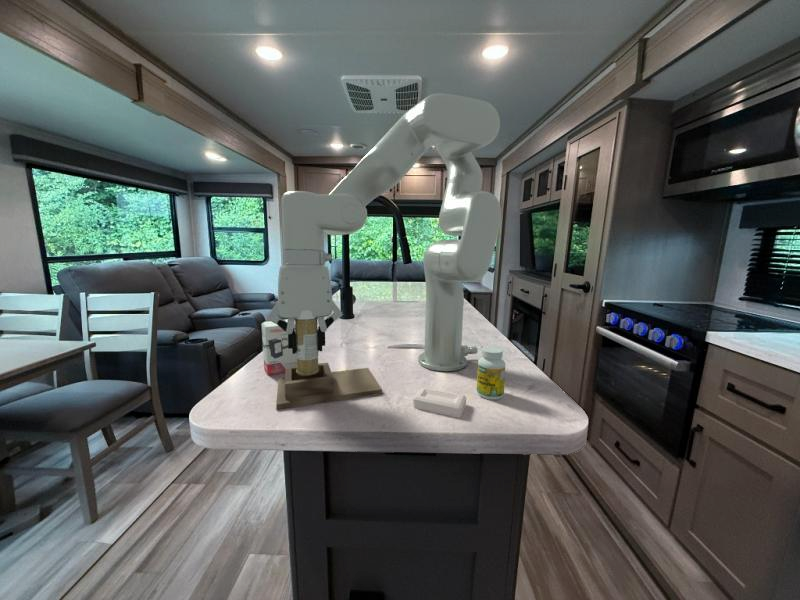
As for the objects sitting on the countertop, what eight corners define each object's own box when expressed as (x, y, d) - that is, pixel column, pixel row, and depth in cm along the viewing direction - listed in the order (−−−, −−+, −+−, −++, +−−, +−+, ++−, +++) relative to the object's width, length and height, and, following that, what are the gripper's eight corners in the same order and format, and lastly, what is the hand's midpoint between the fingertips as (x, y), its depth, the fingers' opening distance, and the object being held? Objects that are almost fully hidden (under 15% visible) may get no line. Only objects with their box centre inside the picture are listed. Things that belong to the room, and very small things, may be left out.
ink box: (267, 376, 70) (264, 326, 68) (263, 369, 74) (260, 321, 72) (304, 368, 74) (303, 321, 72) (299, 362, 78) (297, 317, 76)
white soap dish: (460, 420, 53) (461, 407, 53) (412, 409, 57) (412, 397, 56) (466, 406, 58) (466, 394, 58) (421, 396, 62) (421, 385, 61)
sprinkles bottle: (293, 370, 63) (290, 306, 60) (315, 366, 65) (313, 305, 63) (299, 378, 59) (297, 310, 57) (322, 373, 61) (320, 308, 59)
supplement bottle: (507, 393, 63) (510, 349, 61) (497, 403, 59) (500, 356, 57) (483, 386, 66) (485, 343, 64) (471, 394, 62) (474, 349, 60)
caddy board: (368, 371, 73) (367, 355, 72) (382, 393, 62) (382, 375, 61) (278, 382, 66) (277, 365, 66) (276, 409, 55) (275, 388, 54)
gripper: (344, 259, 65) (345, 341, 68) (258, 258, 59) (263, 348, 62) (351, 260, 58) (352, 352, 61) (254, 259, 52) (259, 361, 55)
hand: (307, 349), depth 61 cm, fingers closed on sprinkles bottle, 4 cm apart
